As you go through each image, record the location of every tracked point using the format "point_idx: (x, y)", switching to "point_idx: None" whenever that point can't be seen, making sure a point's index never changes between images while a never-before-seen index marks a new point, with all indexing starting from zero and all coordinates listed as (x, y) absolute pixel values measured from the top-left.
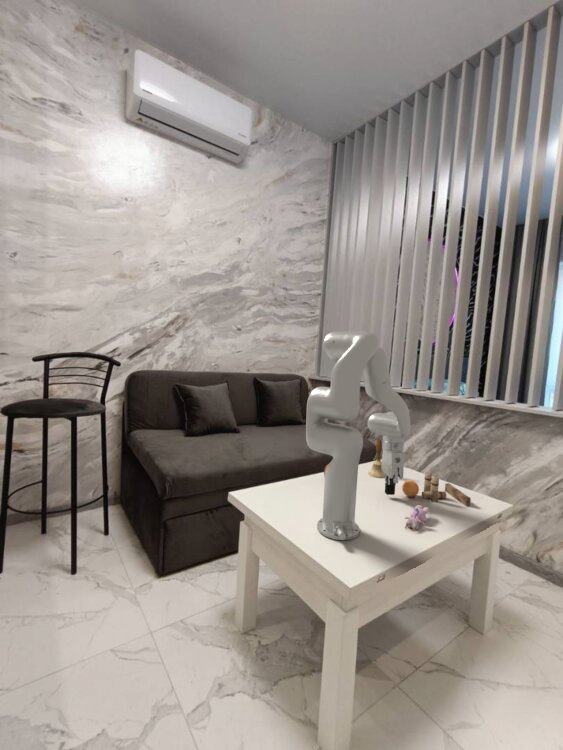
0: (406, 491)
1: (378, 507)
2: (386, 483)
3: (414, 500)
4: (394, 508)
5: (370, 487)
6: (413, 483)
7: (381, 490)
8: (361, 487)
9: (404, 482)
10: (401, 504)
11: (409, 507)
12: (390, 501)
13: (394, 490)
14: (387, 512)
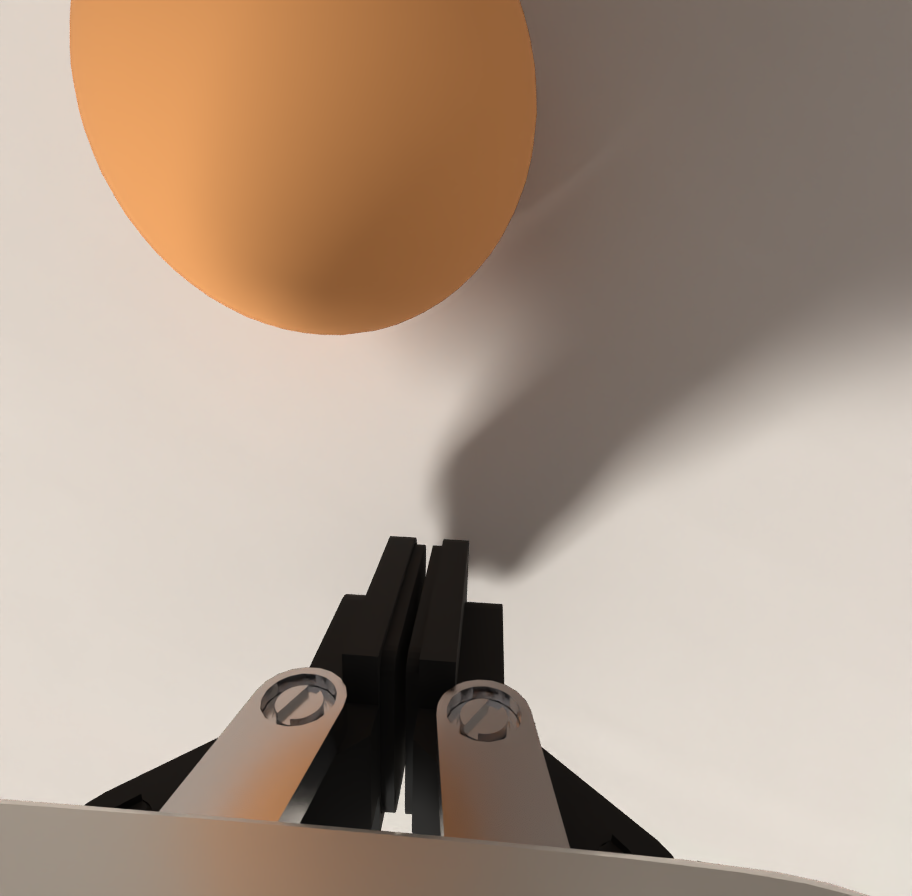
0: (450, 294)
1: (738, 829)
2: (383, 816)
3: (565, 164)
4: (810, 656)
5: (68, 674)
6: (405, 19)
7: (160, 565)
8: (93, 784)
9: (208, 267)
10: (697, 493)
11: (828, 416)
12: (571, 608)
13: (464, 582)
14: (903, 790)
